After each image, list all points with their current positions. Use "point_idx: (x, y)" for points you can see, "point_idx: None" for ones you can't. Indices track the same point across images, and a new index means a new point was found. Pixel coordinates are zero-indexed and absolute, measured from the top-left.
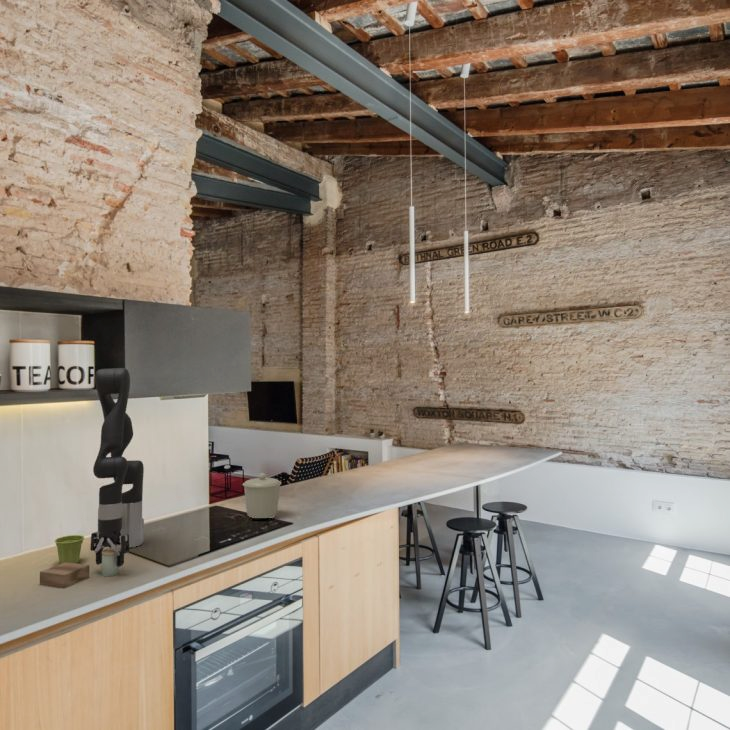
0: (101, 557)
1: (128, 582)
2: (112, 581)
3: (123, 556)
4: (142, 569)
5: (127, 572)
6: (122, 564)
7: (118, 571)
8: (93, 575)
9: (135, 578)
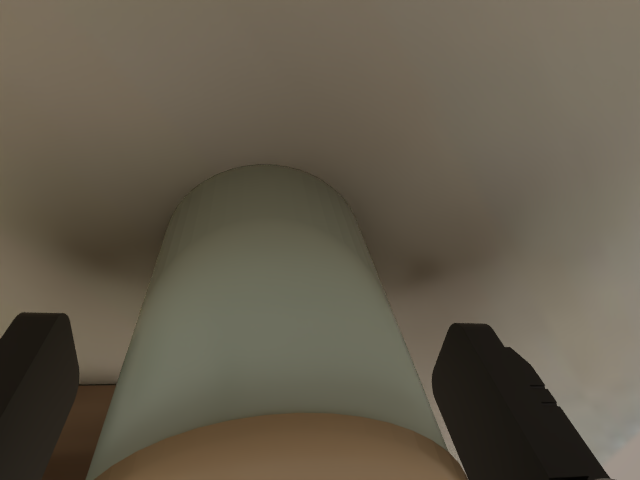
0: (24, 415)
1: (576, 374)
2: (427, 392)
3: (588, 464)
4: (627, 20)
5: (458, 176)
6: (486, 335)
7: (359, 230)
8: (117, 340)
9: (612, 297)
